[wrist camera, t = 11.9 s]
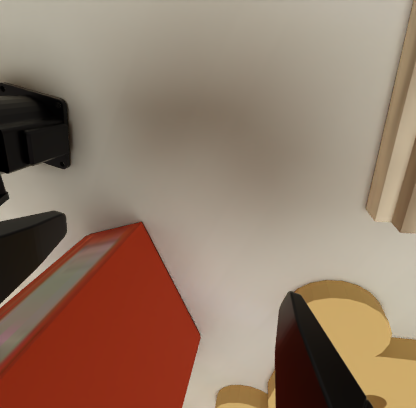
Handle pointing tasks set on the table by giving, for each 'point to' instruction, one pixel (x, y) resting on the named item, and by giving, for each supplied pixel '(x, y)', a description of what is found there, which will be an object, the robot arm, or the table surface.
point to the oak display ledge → (398, 147)
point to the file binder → (98, 330)
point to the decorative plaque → (349, 349)
